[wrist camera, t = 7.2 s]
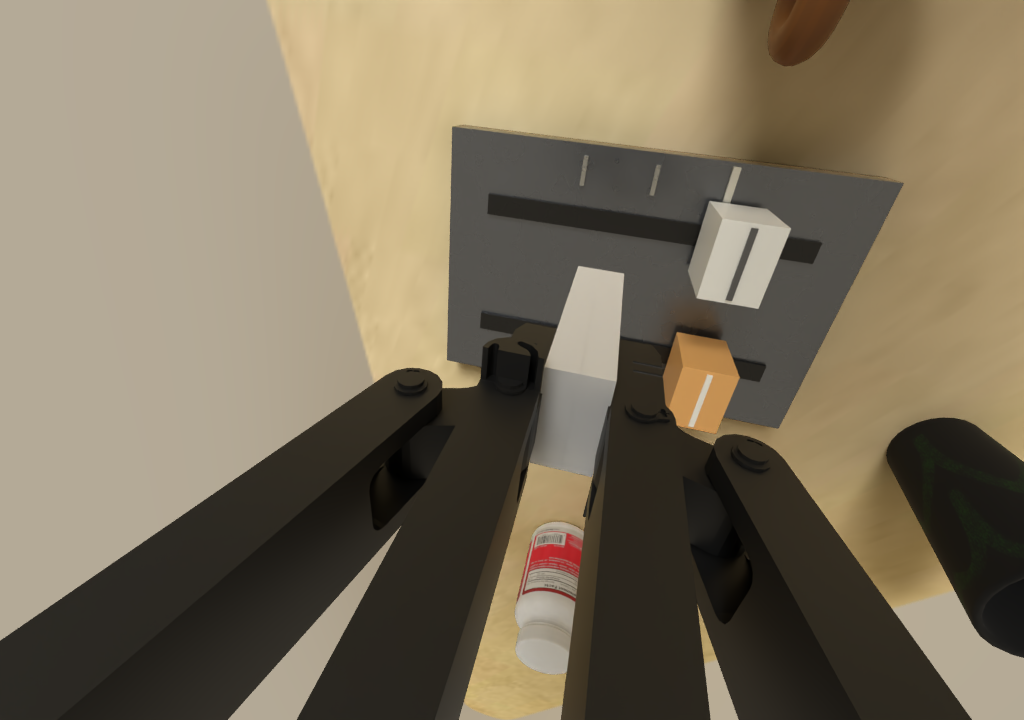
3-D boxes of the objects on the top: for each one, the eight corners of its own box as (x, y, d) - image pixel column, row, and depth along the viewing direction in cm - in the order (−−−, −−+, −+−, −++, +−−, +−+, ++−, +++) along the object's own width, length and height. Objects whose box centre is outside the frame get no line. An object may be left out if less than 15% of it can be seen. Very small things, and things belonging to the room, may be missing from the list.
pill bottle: (570, 570, 47) (554, 688, 37) (520, 540, 46) (491, 652, 37) (607, 542, 43) (600, 663, 34) (554, 509, 43) (532, 623, 33)
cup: (875, 408, 31) (993, 558, 21) (1020, 400, 29) (1232, 566, 18) (863, 491, 34) (959, 656, 24) (992, 491, 32) (1158, 673, 22)
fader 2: (676, 331, 29) (683, 367, 25) (725, 340, 28) (740, 378, 25) (660, 383, 31) (663, 424, 27) (705, 393, 30) (716, 435, 27)
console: (463, 124, 28) (450, 126, 26) (885, 177, 25) (906, 183, 23) (455, 347, 36) (446, 361, 34) (770, 411, 33) (779, 430, 31)
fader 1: (709, 201, 25) (722, 219, 21) (767, 209, 24) (791, 229, 20) (688, 270, 27) (696, 299, 23) (740, 279, 26) (759, 309, 23)
